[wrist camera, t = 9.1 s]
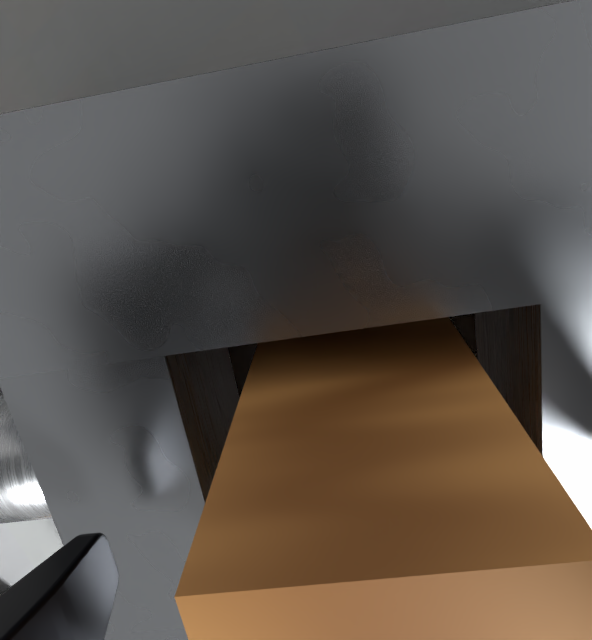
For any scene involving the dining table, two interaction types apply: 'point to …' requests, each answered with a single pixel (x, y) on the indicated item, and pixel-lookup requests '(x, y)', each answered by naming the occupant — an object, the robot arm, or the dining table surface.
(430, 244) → the gray block with handle
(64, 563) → the robot arm
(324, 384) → the wooden block
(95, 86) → the dining table surface
